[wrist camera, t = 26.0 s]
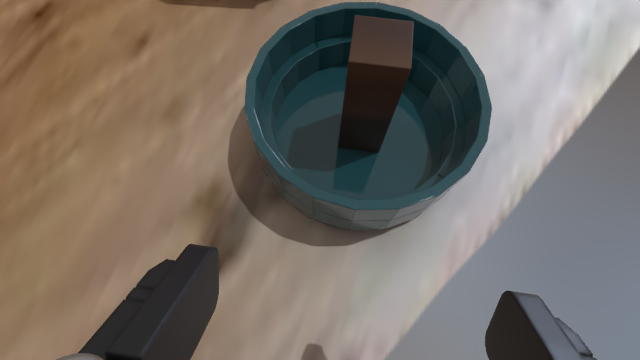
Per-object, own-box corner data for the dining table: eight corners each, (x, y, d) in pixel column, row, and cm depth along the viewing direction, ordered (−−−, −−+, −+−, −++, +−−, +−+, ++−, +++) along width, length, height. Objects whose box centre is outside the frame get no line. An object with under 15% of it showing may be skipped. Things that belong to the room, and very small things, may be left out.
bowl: (293, 262, 22) (286, 247, 17) (238, 85, 27) (220, 32, 22) (492, 193, 24) (539, 161, 19) (406, 39, 29) (425, -19, 24)
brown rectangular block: (379, 152, 24) (411, 69, 16) (337, 147, 24) (348, 61, 16) (382, 117, 25) (414, 20, 17) (342, 112, 26) (354, 14, 17)
